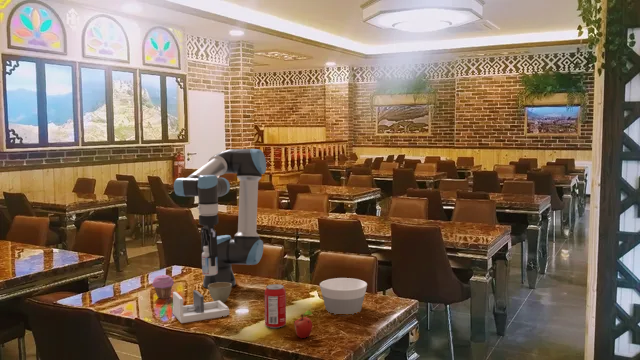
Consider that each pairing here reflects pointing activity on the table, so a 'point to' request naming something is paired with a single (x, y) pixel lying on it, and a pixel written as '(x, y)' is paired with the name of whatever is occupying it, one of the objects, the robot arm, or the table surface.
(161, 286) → the cupcake
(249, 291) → the table surface
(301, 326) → the apple
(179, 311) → the white open tray
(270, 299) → the soda can
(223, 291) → the flower pot
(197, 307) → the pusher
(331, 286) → the bowl
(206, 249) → the pill bottle
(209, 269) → the robot arm
